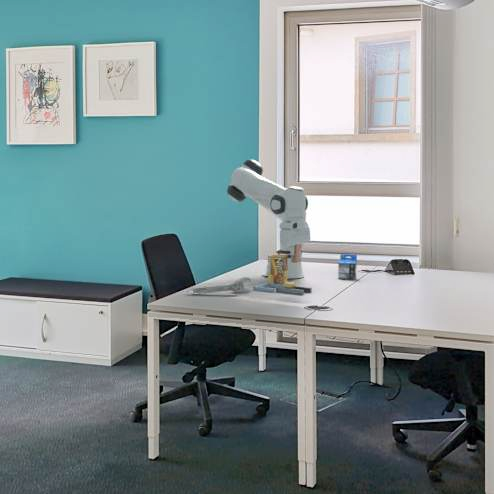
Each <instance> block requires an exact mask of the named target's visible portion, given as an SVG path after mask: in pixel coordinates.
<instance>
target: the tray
mask: <svg viewBox="0 0 494 494" xmlns="http://www.w3.org/2000/svg"><path fill="white" fill-rule="evenodd" d="M276 287H282V288H284V284H272V283H268V282H267V283H262V284H258V285H255V286H253V287H252V289H253V291H259V292H266V293H267V292H268V293H276Z"/></svg>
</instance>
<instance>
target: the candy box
mask: <svg viewBox="0 0 494 494" xmlns="http://www.w3.org/2000/svg"><path fill="white" fill-rule="evenodd" d="M287 259H288V256H287V255H286V254H278V253H277V254H268V255H267V265H268V277H267V283H272V284H280V285H284V283H286V282H288V278H287Z"/></svg>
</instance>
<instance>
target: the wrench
mask: <svg viewBox="0 0 494 494" xmlns="http://www.w3.org/2000/svg"><path fill="white" fill-rule="evenodd" d="M247 282H248V283H250V284H253V283H254V282H253V279H252V278H250V277H248V276H242V277H241V278H240V279H238V280H236V281H234V282H232V283H229V284H219V285H209V286H201V287H190V288H188V289H187V292H186V293H187V294H188V293H190V292H189V291H190V290H192V291H193V292H192V294H193V293H204V294H210V293H211V294H212V293H218V292H228V291H229V292H230V291H231V292H234V293H242V292H243V293H248V292H251V291H252V288H248V287H245V284H246V283H247Z"/></svg>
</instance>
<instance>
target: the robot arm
mask: <svg viewBox="0 0 494 494" xmlns="http://www.w3.org/2000/svg"><path fill="white" fill-rule="evenodd" d="M263 173H264V170H263V167H262V165H261V164H260V163H259V161H256V160H254V159H249V158H248V159H246V160H245V161H244V162H243V164H242V165H241V166H240V167H237V168H236V169H234V170H233V172H232V174H231V182H230V184H229V185H228V187H227V189H226V192H227V193H226V194H227V195H228V196H229V198H230V199H232V200H233V201H235V202H240V203H243V202H244V201H245V200H246V199H247V197H249V198H250V199H252V201H254V202H255V203H257V204H258V205H260V206H261V207H263V208H264V209H265V210H267V211H268V212H269V213H271V214H272V215H273V216H275V217H276V218H277V219H279V220H280V221H281V222H280V223H279V229H280V230H279V250H276V251H275V253H276V254H277V255H278V254H286V255H287V256H288V259H287V279H301V278H302V279H303V278H304V277H305V275H304V271H303V270H304V269H303V260H302V259H303V250H302V249H303V244H307V243H310V241H311V230H310V227H309V224H308V222H307V219H306V218H307V210H308V206H309V201H308V197H307V196H306V192H305V189H304V188H303V187H301V186H295V185H292V186H287V188H286V187H284V186H282V185H280V184H277V183H276V182H273V181H271V180H269V179H267V178H265V177H264V176H263ZM297 244H300V262H298V263H292V262H291V255H295V253H296V251H294V247H295V245H297ZM261 276H262V277H266V276H268V264H266V269H265V272H262V274H261Z"/></svg>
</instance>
